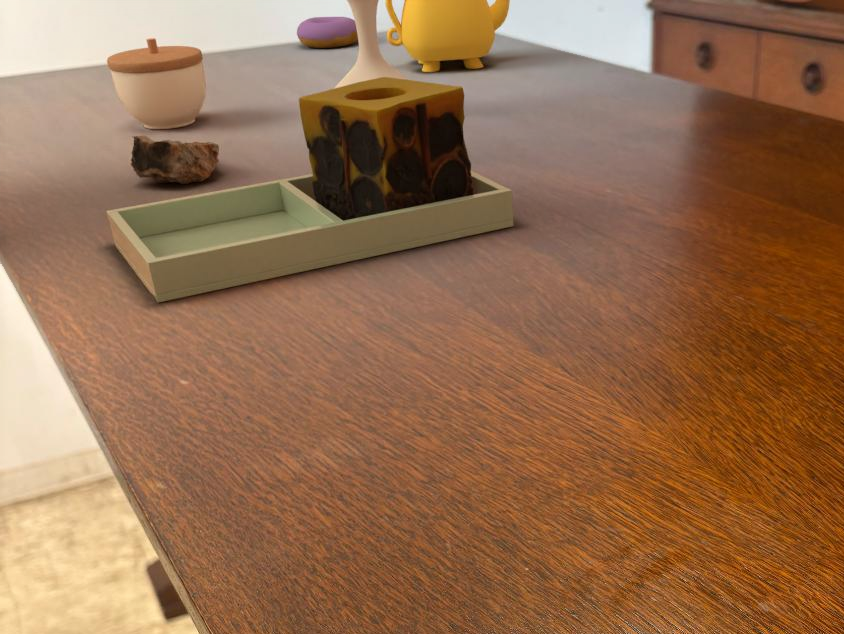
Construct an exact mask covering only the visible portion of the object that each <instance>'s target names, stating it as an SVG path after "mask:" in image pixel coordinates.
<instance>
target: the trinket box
mask: <svg viewBox="0 0 844 634" xmlns="http://www.w3.org/2000/svg"><path fill="white" fill-rule="evenodd" d="M146 44H147V47H143V48H142V47H141V48H135V49H130V50H124V51H121V52H117V53H114V54H112V55H109V56H108V57H107V60H106V63H107V67H108V69H109V70H110V74H111V79H112V83H113V85H114V88H115V92H116V94H117V96H118V98H119V100H120V102H121V104H122V105H123V107H124V108H125V110H126V111H127V112H128V113H129V115H131V116H132V117H133V118H134V119H135V120H136V121H138V122H139V123H141V124H142V126H143V127H144V128H145V129H148V130H149V129H150V130H169V129H176V128H177V129H178V128H182V127H187V126H189V125H191V124H194V123H195V122H196V117H197V116H198V115H199V113H200V112H201V110H202V107H203V106H204V103H205V99H206V90H207V89H206V88H207V85H206V74H205V68H204V62H203V59H204V58H203V54H202V53H203V52H202V50H201V49H200V48H198V47H195V46H194V47H193V46H187V45H164V46H163V45H161V46H158V44H157V39H156V38H154V37H153V38H147V39H146Z"/></svg>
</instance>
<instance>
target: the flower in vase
mask: <svg viewBox="0 0 844 634" xmlns="http://www.w3.org/2000/svg"><path fill="white" fill-rule="evenodd" d="M346 1H347V3H348V5H349V7H350V10H351V13H352V15H353V16H352V17H353V18H354V19H353V20H354V21H355V24H356V28H357V34H358V39H357V40H358V55H357V59H356V61H355V64H354V65H353V66H352V67H351V69H350V70H349V71H348V72H347V74H346V75H344V77H343V78H342V79H341V80H340V81H339V82H338V83H337V85H335V86H334V88H333V89H335V88H339V87H343V86H347V85H350V84H354V83H358V82H362V81H367V80H372V79H377V78H381V77H389V78H397V79H405V80H409V79H408V78H407V77H406V76H404V75H403V74H402V73H401V72H400V71H398V70H397V69H395V68H393V66H391V65H390V64H389V63H388V62H387V61H386V60H385V59H384V57H383V55H382V53H381V50H380V47H379V39H378V30H377V28H378V27H377V14H378V4H379V1H380V0H346Z"/></svg>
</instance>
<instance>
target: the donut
mask: <svg viewBox="0 0 844 634" xmlns="http://www.w3.org/2000/svg"><path fill="white" fill-rule="evenodd" d="M296 36H297V38H298V40H299V41H300V43H301V45H303V46H305V47H308V48H314V49H331V48H332V49H333V48H340V47H345V46H349V45H352V44H354V43H355V42H356V41H357V40H358V34H357V28H356V24H355V19H353V18H351V17H347V16H317V17H316V16H315V17H309V18H307V19H305V20H303V21H301V22H300V23H299V24H298V25H297V29H296Z"/></svg>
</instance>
